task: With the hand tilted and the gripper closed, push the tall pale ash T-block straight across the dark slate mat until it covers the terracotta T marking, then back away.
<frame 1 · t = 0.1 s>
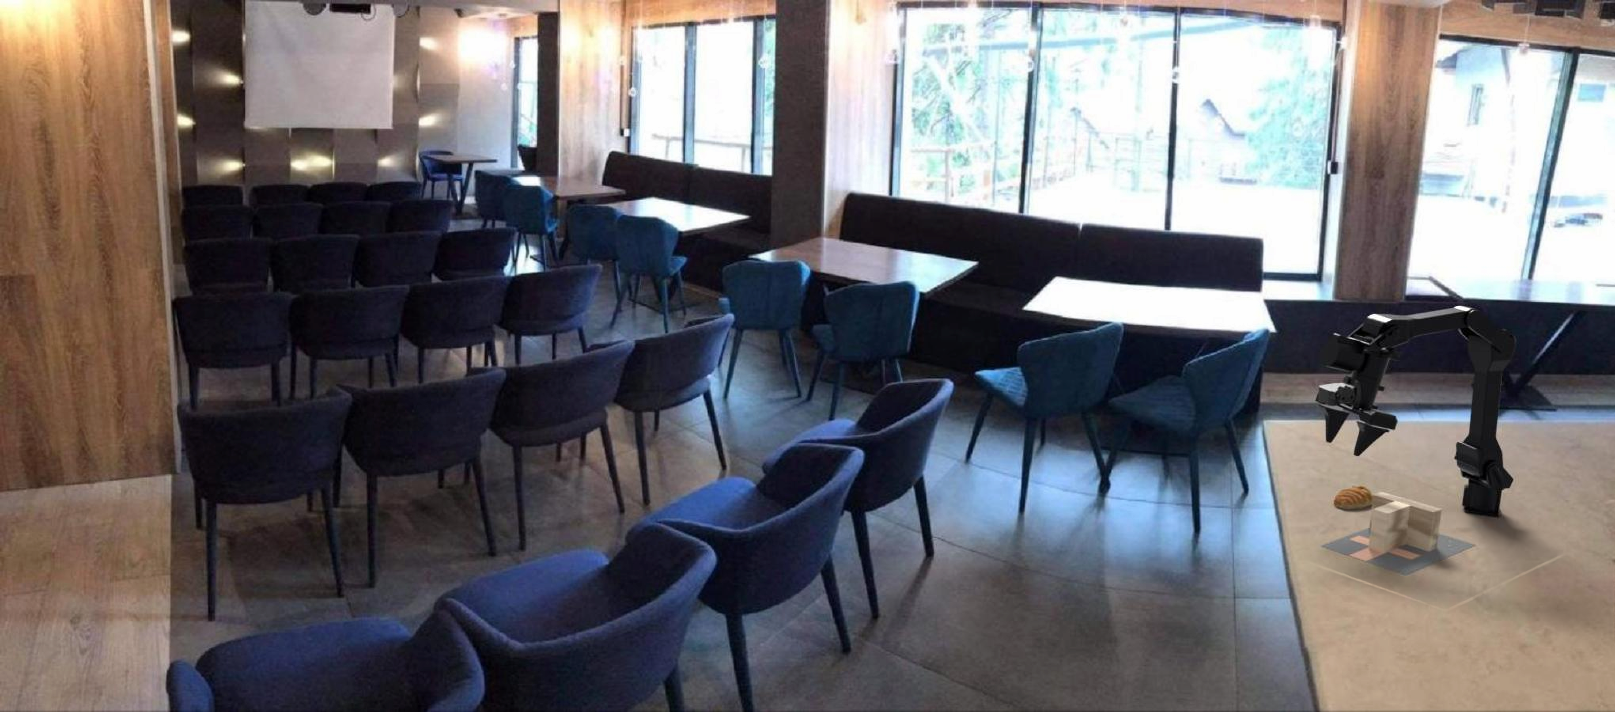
hand: (1341, 449, 238), 15 cm above the table, tool pointing down, fingers open, 9 cm apart
t block: (1402, 540, 229), resting on mat
mat: (1398, 547, 227), on the table
pastry: (1353, 506, 250), on the table
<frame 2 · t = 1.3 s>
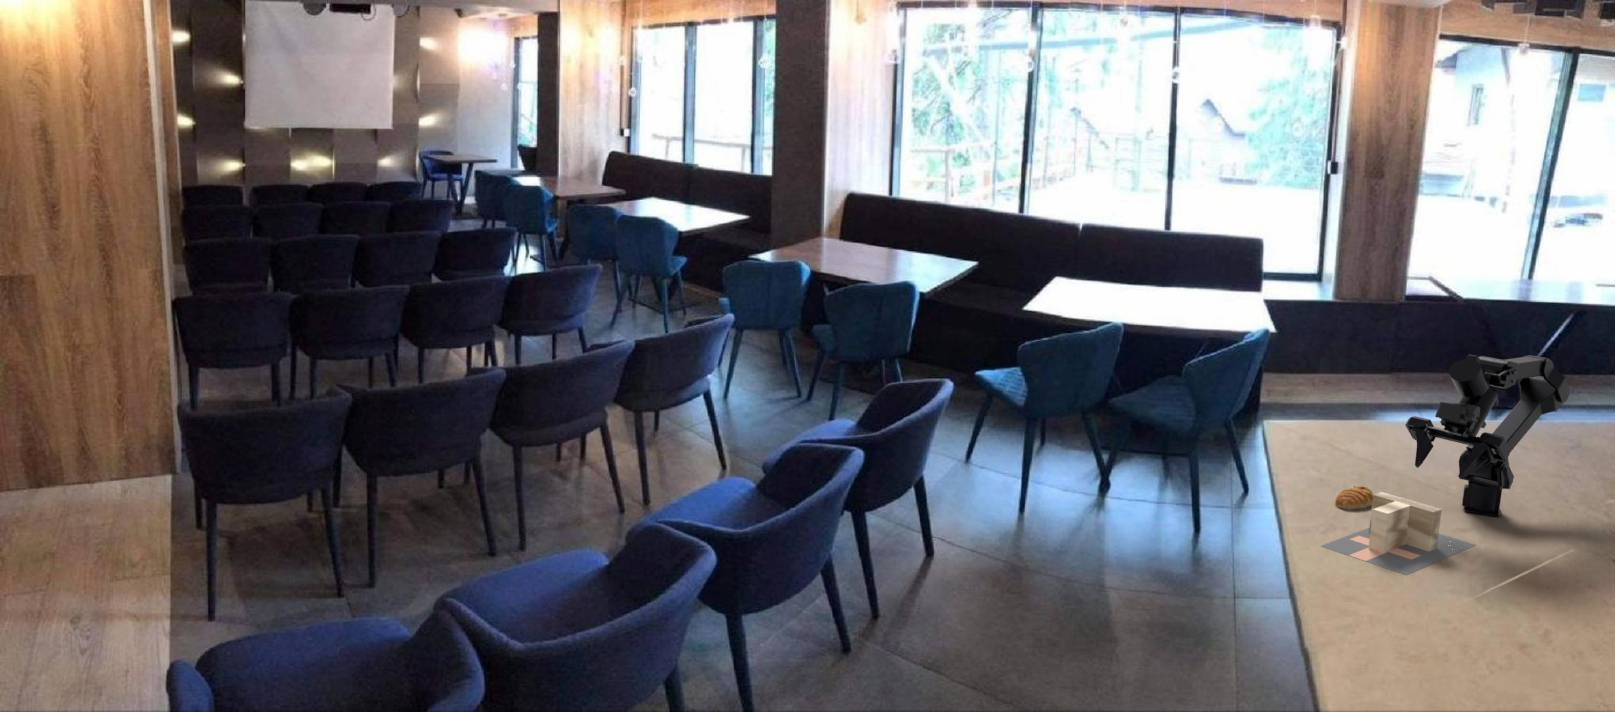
hand: (1437, 472, 233), 12 cm above the table, tool tilted 45°, fingers open, 8 cm apart
nothing on the table moved.
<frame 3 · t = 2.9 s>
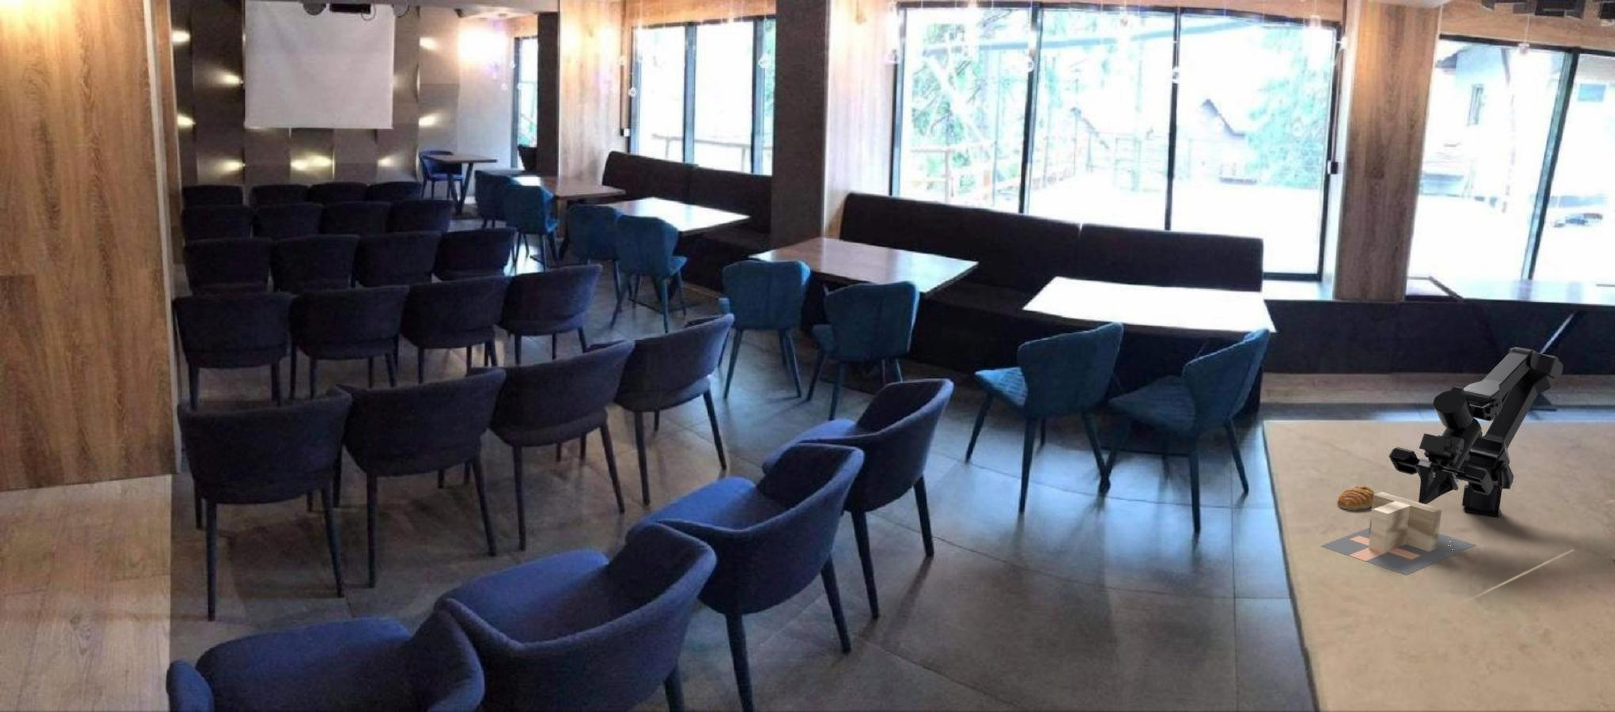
hand: (1421, 504, 231), 7 cm above the table, tool tilted 45°, fingers closed
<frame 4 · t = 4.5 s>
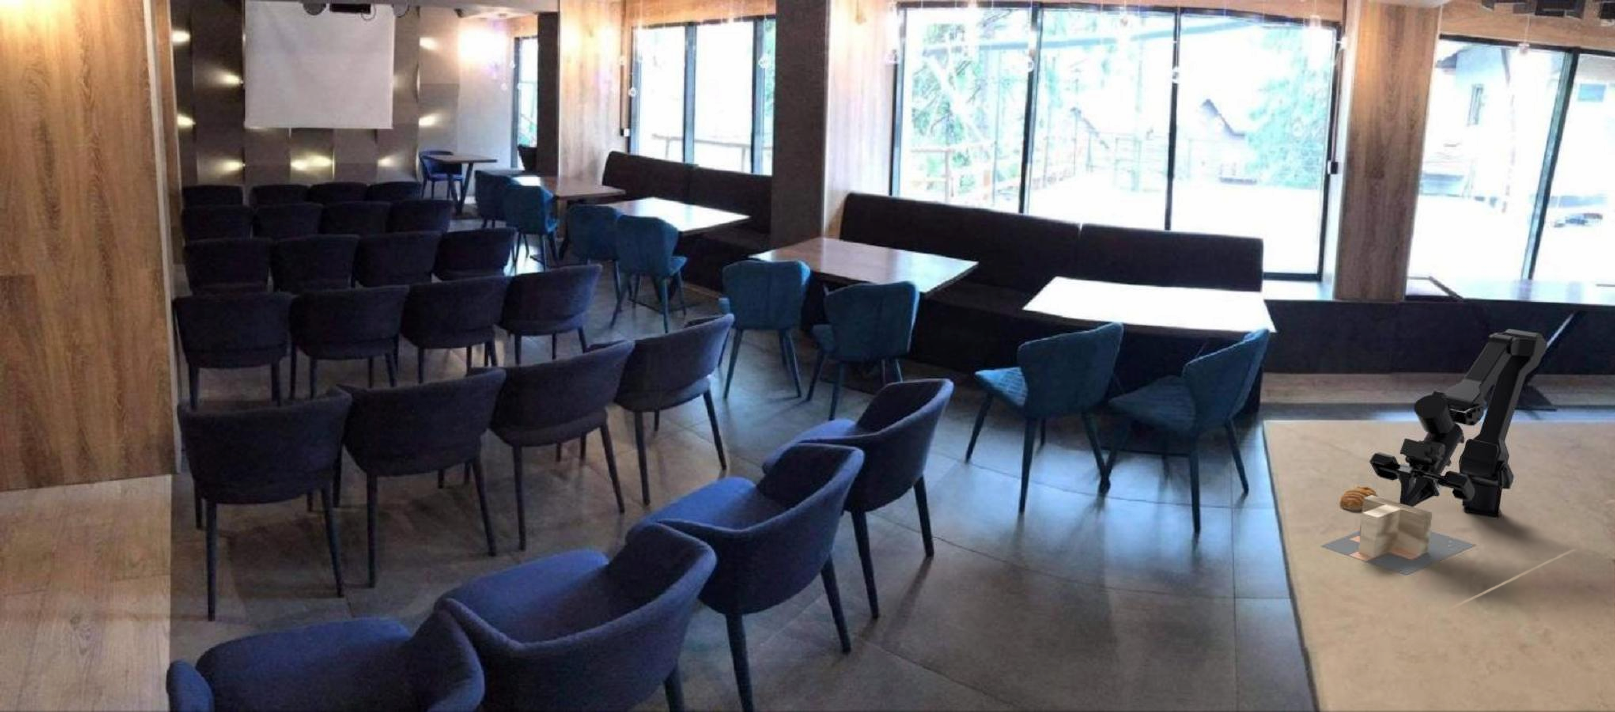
hand: (1401, 510, 227), 7 cm above the table, tool tilted 45°, fingers closed
t block: (1392, 544, 227), resting on mat
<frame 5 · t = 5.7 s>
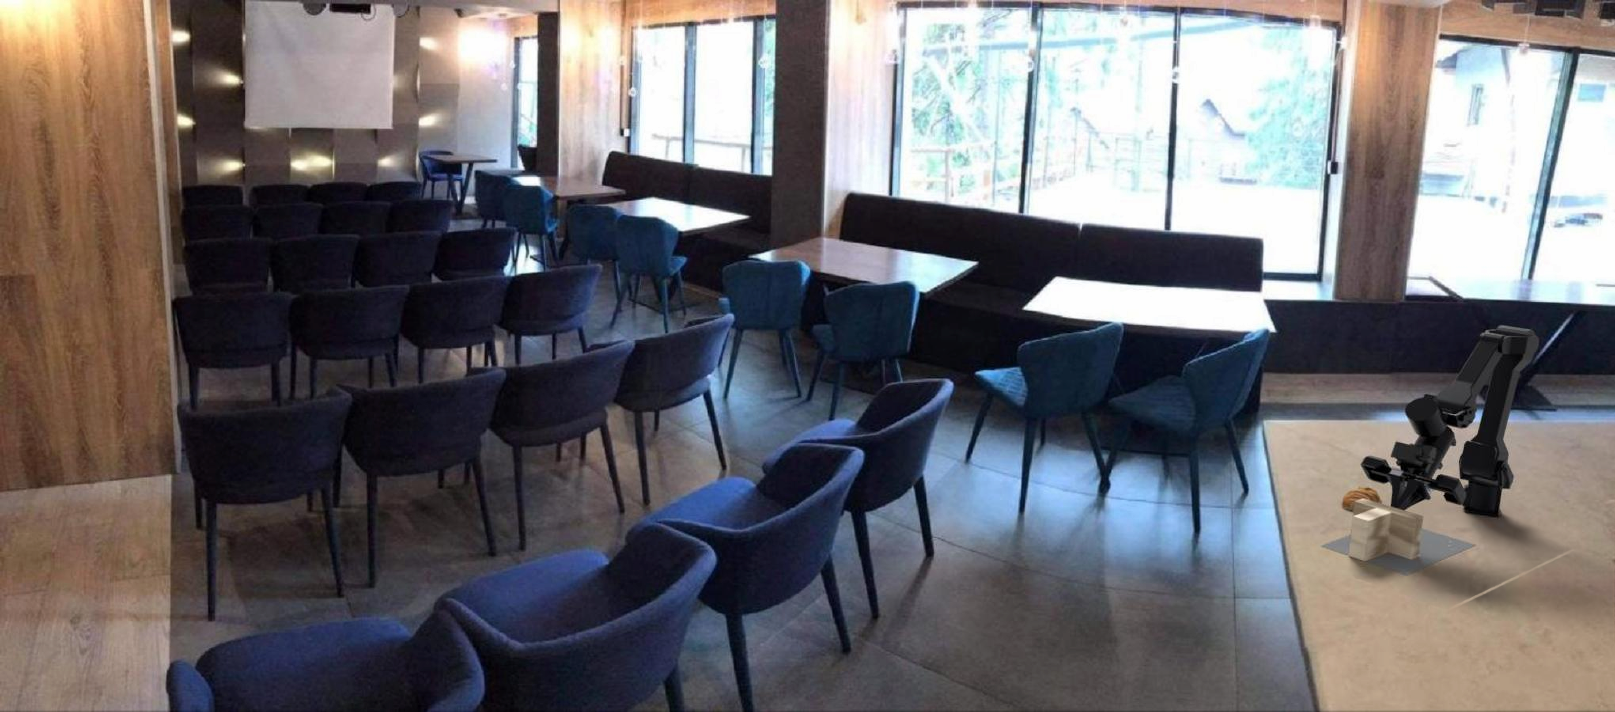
hand: (1392, 514, 225), 7 cm above the table, tool tilted 45°, fingers closed, pressing on t block
t block: (1383, 547, 226), resting on mat, touching gripper
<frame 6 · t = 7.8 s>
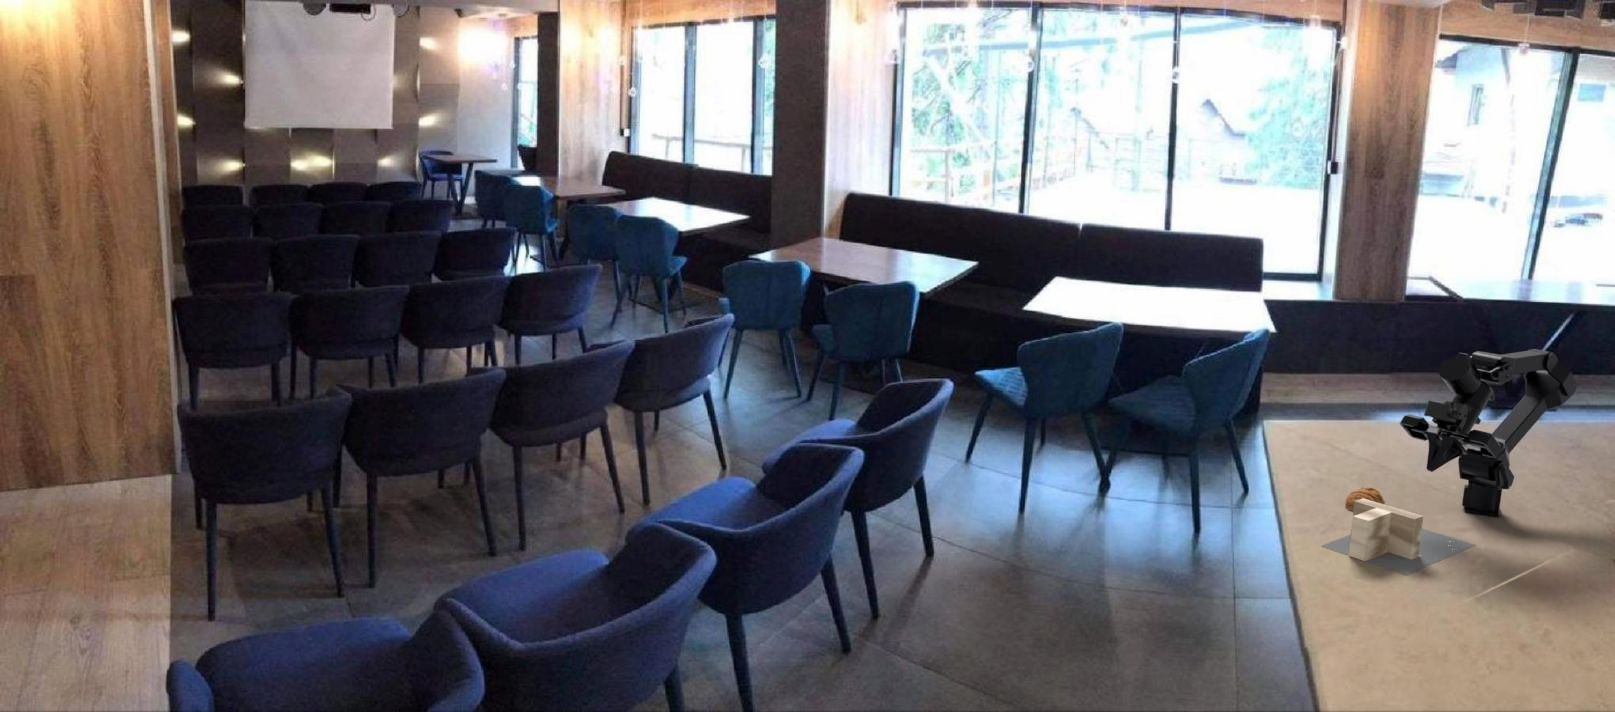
hand: (1429, 470, 234), 12 cm above the table, tool tilted 40°, fingers closed
t block: (1383, 547, 226), resting on mat
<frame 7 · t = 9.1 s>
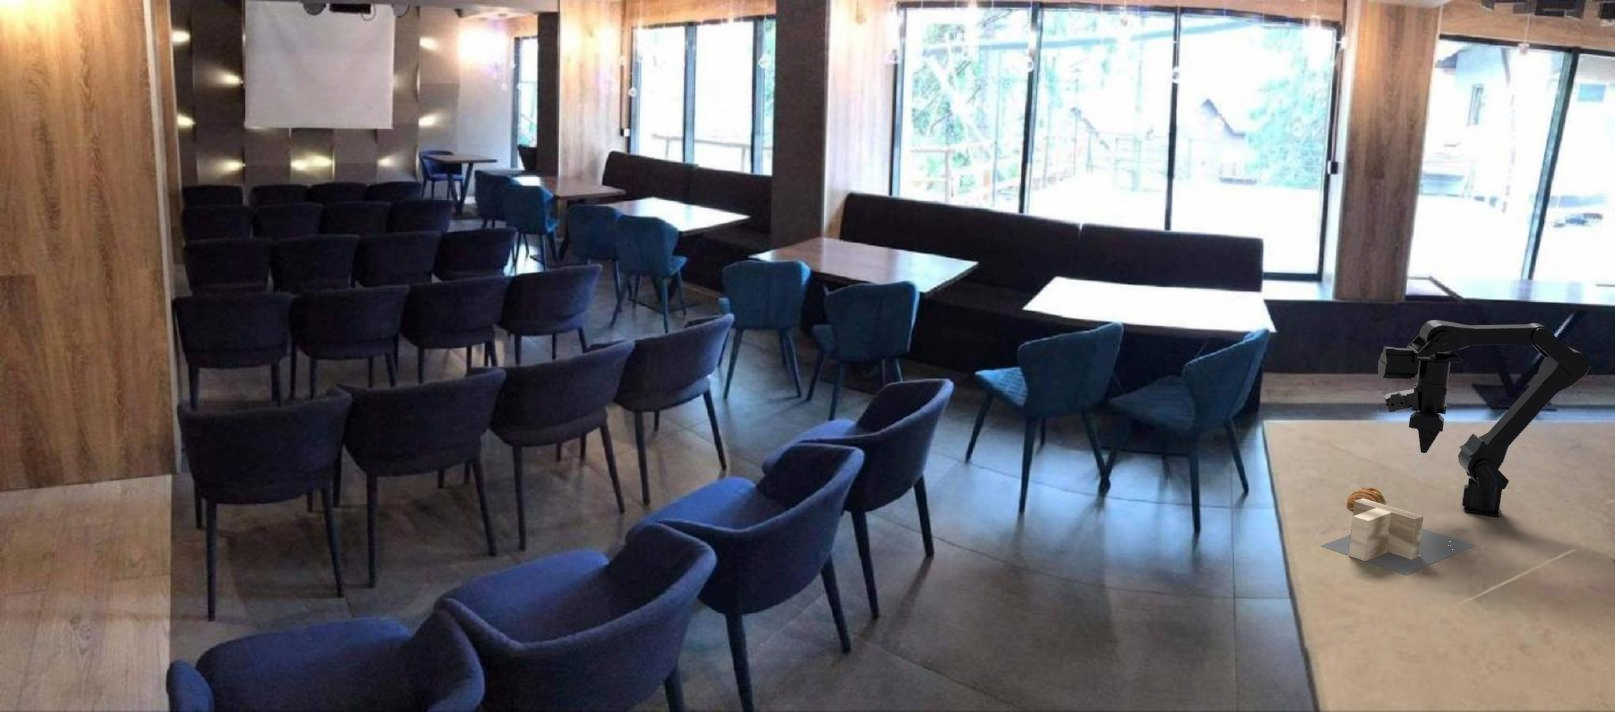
hand: (1423, 452, 247), 12 cm above the table, tool pointing down, fingers closed
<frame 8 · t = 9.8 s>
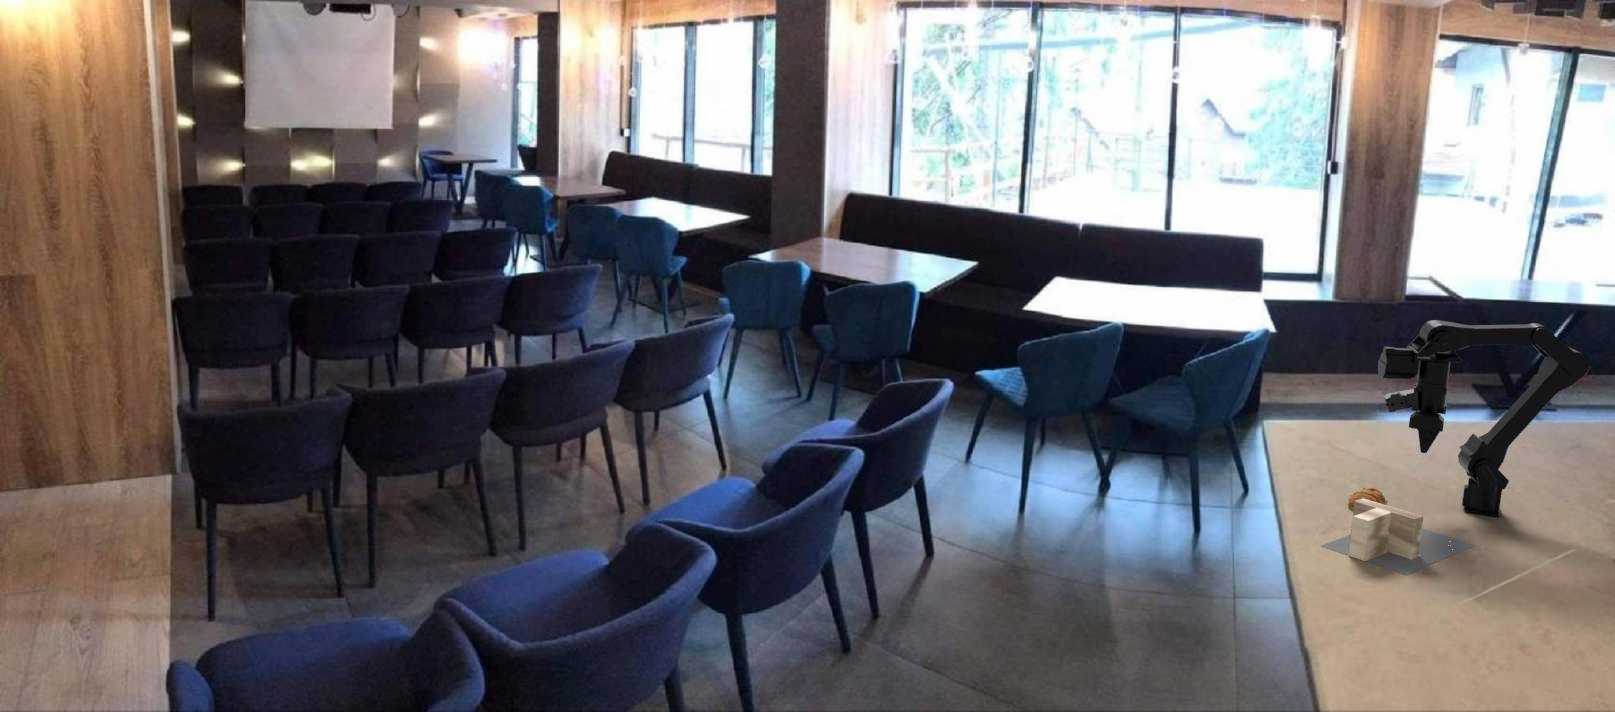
hand: (1423, 452, 247), 12 cm above the table, tool pointing down, fingers closed
at the end: t block 0.3 cm from the target spot, resting on mat; t block tilted 0°; pastry moved 2.8 cm from its start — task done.
